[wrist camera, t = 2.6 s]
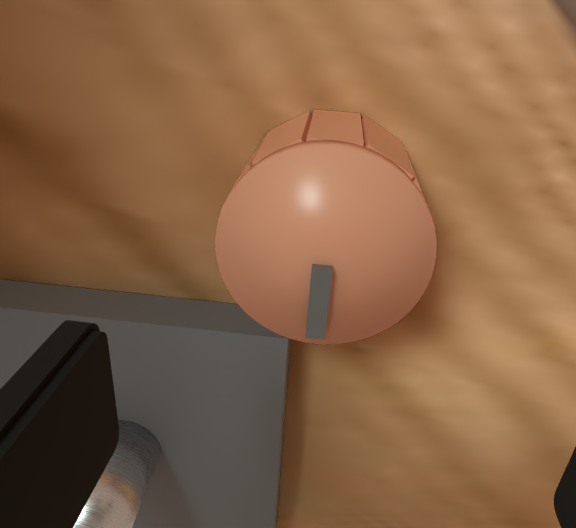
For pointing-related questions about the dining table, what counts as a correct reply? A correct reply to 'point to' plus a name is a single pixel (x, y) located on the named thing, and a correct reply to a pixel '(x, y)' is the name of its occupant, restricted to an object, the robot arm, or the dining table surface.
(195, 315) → the post stand
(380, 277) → the orange dial knob
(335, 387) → the dining table surface
